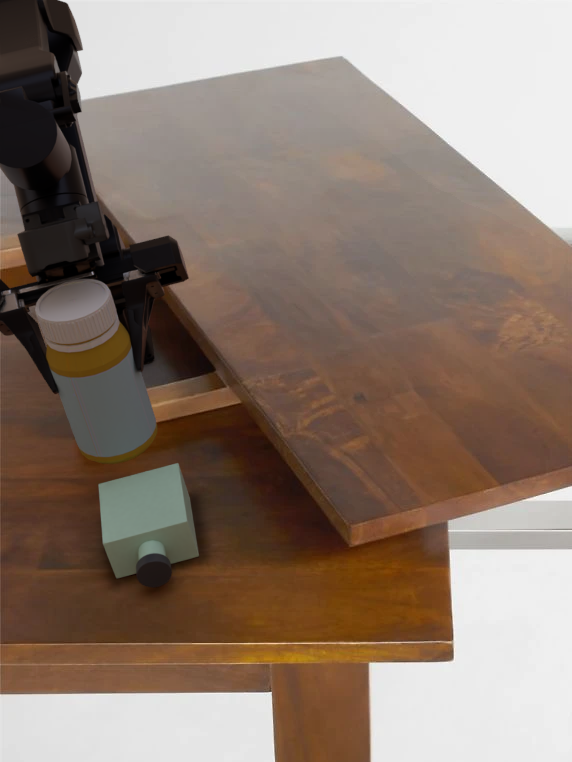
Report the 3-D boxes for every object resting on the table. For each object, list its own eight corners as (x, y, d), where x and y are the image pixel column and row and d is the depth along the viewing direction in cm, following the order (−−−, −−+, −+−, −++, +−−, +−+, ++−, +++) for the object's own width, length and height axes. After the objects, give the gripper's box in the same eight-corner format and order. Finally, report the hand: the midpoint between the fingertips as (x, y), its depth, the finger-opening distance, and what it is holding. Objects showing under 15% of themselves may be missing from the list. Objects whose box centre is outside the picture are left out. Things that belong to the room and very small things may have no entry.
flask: (111, 518, 120) (98, 483, 118) (189, 497, 121) (178, 462, 119) (118, 603, 112) (104, 568, 109) (203, 580, 112) (190, 544, 110)
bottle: (144, 469, 117) (97, 325, 108) (68, 467, 119) (15, 324, 110) (169, 416, 123) (127, 275, 113) (96, 415, 124) (49, 276, 115)
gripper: (-84, 205, 108) (-40, 394, 106) (149, 148, 110) (197, 333, 108) (-45, 243, 119) (-5, 416, 117) (166, 191, 121) (210, 360, 119)
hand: (97, 382), depth 115 cm, fingers closed on bottle, 7 cm apart
